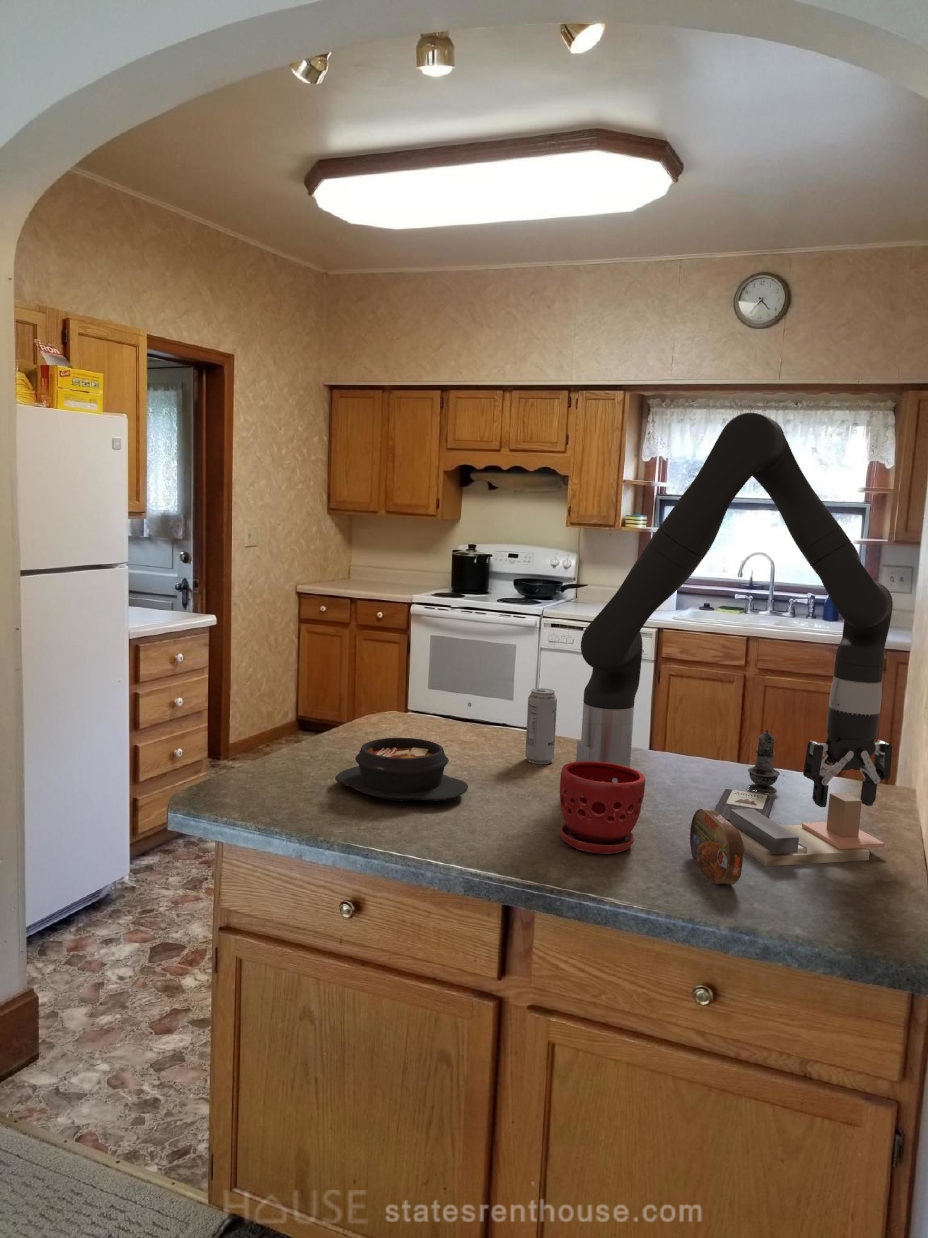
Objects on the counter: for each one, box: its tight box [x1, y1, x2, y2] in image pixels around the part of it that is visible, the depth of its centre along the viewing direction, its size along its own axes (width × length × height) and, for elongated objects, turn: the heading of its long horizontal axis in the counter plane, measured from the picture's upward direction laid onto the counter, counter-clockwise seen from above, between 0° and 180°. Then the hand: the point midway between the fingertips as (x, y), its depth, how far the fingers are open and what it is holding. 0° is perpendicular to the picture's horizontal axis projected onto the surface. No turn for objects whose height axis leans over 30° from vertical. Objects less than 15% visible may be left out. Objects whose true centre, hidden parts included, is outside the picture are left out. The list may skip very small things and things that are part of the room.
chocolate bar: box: [713, 788, 776, 822], centre depth 161 cm, size 9×1×18 cm
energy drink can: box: [524, 687, 558, 765], centre depth 185 cm, size 6×6×15 cm
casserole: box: [335, 737, 469, 802], centre depth 162 cm, size 25×19×8 cm
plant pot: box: [559, 761, 646, 855], centre depth 140 cm, size 13×13×12 cm
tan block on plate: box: [801, 792, 886, 849], centre depth 143 cm, size 8×10×7 cm
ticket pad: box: [730, 809, 870, 867], centre depth 142 cm, size 18×13×4 cm
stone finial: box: [747, 728, 781, 795], centre depth 172 cm, size 6×6×12 cm
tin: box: [689, 808, 745, 885], centre depth 131 cm, size 15×3×8 cm, turn 5°
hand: (843, 805), depth 143 cm, fingers open, 8 cm apart
